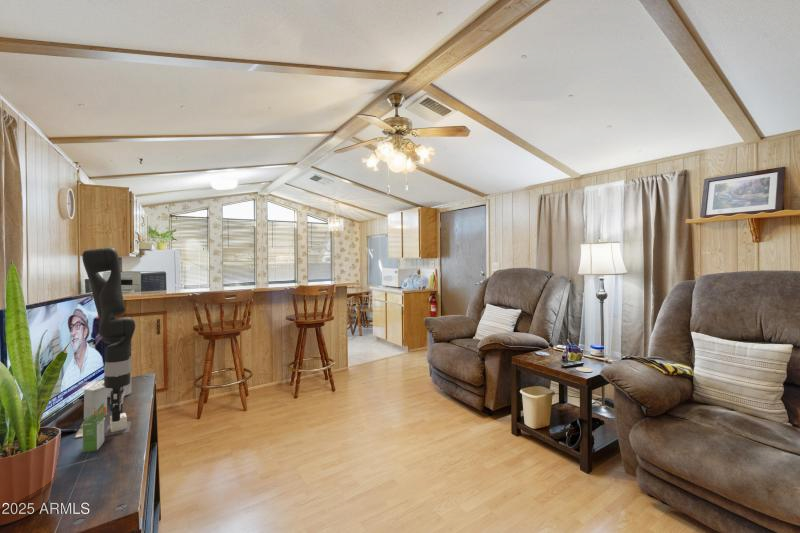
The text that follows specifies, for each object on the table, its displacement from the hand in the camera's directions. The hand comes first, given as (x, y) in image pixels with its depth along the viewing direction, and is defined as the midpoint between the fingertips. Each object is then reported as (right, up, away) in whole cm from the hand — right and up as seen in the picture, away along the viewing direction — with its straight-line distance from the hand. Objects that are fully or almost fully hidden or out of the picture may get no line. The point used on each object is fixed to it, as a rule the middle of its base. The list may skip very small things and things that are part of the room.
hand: (117, 416), depth 135 cm
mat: (0, -5, 0) cm, 5 cm away
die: (0, -4, 0) cm, 4 cm away
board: (-10, -5, +1) cm, 11 cm away
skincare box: (-16, -5, +10) cm, 20 cm away
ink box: (+2, -5, -13) cm, 14 cm away
